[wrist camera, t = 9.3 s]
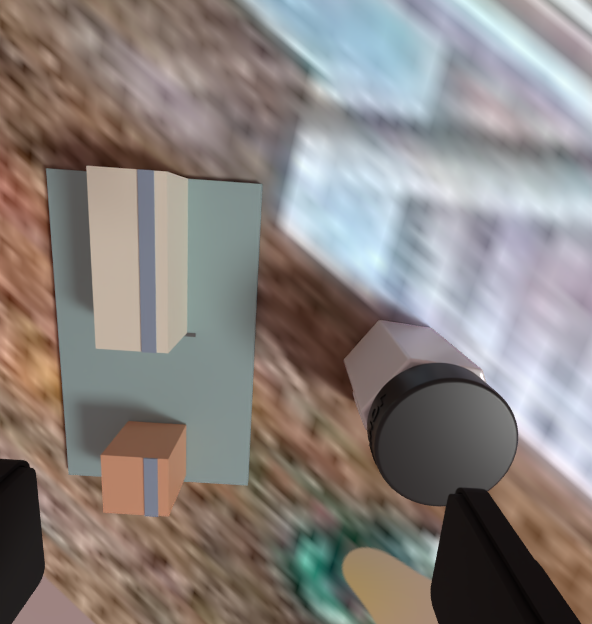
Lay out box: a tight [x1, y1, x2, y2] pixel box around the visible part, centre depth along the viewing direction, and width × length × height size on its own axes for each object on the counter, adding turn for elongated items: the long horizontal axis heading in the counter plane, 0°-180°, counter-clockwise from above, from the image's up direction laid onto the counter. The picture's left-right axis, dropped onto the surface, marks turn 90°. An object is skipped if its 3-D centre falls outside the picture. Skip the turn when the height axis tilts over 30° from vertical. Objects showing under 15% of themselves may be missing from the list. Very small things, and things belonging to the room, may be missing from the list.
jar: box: [344, 320, 518, 506], centre depth 28 cm, size 9×8×12 cm
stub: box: [101, 421, 186, 517], centre depth 32 cm, size 5×5×5 cm
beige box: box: [86, 166, 188, 353], centre depth 29 cm, size 12×5×5 cm, turn 176°
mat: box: [46, 168, 262, 485], centre depth 33 cm, size 26×16×1 cm, turn 176°
